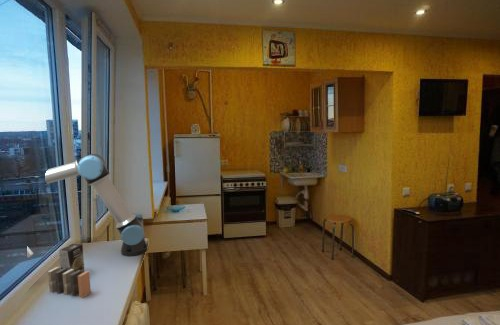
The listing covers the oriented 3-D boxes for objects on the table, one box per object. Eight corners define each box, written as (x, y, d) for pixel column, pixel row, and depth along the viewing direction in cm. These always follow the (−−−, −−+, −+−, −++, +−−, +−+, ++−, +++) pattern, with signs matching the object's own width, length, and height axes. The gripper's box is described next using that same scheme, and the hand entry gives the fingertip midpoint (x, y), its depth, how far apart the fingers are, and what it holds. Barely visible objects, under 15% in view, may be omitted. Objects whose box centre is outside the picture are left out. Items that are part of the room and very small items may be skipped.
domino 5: (79, 297, 141) (77, 276, 139) (87, 291, 145) (86, 270, 144) (82, 297, 140) (80, 276, 139) (90, 291, 145) (89, 271, 144)
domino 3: (64, 294, 143) (62, 273, 142) (73, 289, 148) (71, 268, 146) (67, 295, 143) (65, 274, 141) (75, 289, 147) (74, 269, 146)
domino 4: (71, 295, 142) (70, 274, 141) (80, 290, 147) (78, 269, 145) (74, 296, 141) (72, 275, 140) (83, 290, 146) (81, 270, 145)
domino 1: (49, 292, 145) (47, 271, 144) (59, 286, 150) (57, 266, 149) (52, 292, 145) (50, 271, 144) (61, 287, 150) (59, 267, 148)
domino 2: (56, 293, 144) (55, 272, 143) (66, 287, 149) (64, 267, 148) (59, 293, 144) (57, 273, 142) (68, 288, 148) (67, 268, 147)
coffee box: (72, 282, 154) (69, 251, 152) (60, 281, 155) (58, 250, 153) (85, 273, 163) (83, 243, 161) (74, 272, 164) (72, 243, 162)
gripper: (10, 219, 158) (39, 255, 156) (-18, 228, 146) (13, 266, 143) (17, 210, 156) (46, 246, 154) (-11, 217, 144) (21, 256, 141)
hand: (30, 255), depth 149 cm, fingers closed
